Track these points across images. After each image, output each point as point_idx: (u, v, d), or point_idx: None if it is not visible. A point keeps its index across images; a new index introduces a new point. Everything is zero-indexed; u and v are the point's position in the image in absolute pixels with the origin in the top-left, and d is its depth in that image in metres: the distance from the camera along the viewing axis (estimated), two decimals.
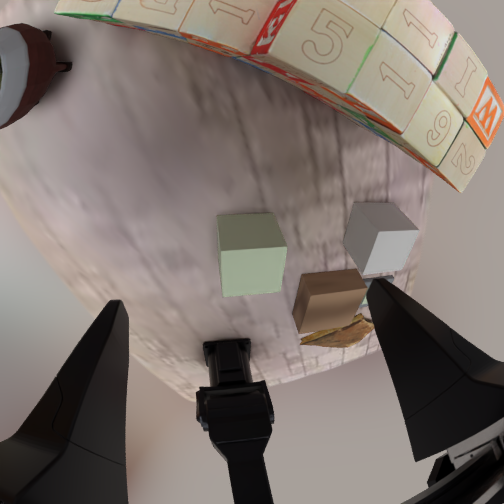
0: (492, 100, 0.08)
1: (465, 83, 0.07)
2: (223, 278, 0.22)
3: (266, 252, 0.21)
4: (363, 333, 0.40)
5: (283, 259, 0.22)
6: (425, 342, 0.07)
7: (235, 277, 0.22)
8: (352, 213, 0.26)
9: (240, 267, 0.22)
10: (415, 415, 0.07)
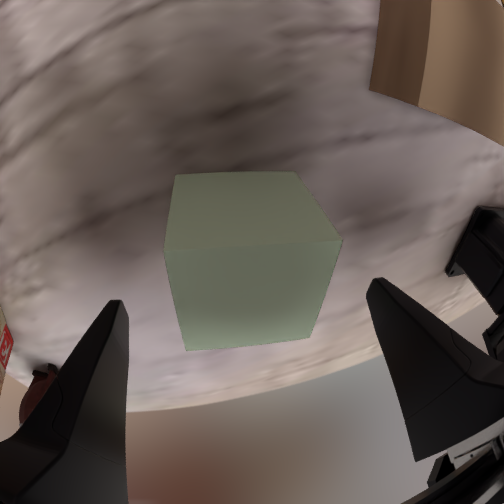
0: None
1: None
2: (256, 343, 0.11)
3: (186, 292, 0.08)
4: None
5: (210, 252, 0.07)
6: (425, 342, 0.07)
7: (259, 329, 0.10)
8: None
9: (231, 325, 0.10)
10: (415, 415, 0.07)
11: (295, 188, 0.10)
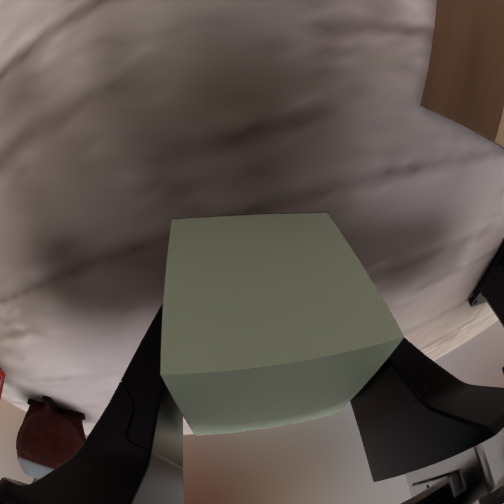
0: None
1: None
2: (278, 425, 0.08)
3: (196, 403, 0.06)
4: None
5: (229, 373, 0.05)
6: None
7: (284, 417, 0.07)
8: None
9: (251, 419, 0.07)
10: (370, 434, 0.07)
11: (334, 245, 0.08)
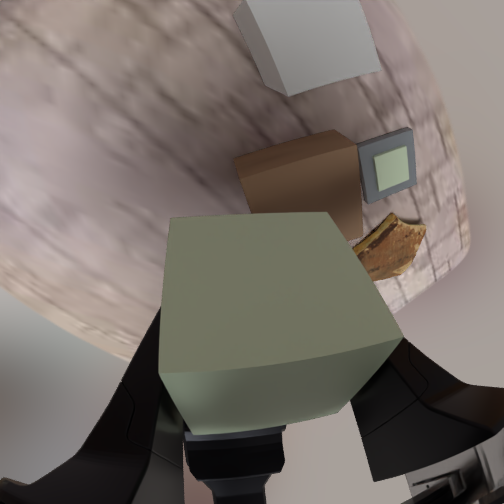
0: None
1: None
2: (277, 425, 0.08)
3: (194, 402, 0.05)
4: (411, 245, 0.23)
5: (228, 372, 0.05)
6: None
7: (283, 417, 0.07)
8: (240, 30, 0.12)
9: (249, 419, 0.07)
10: (370, 434, 0.07)
11: (333, 244, 0.08)
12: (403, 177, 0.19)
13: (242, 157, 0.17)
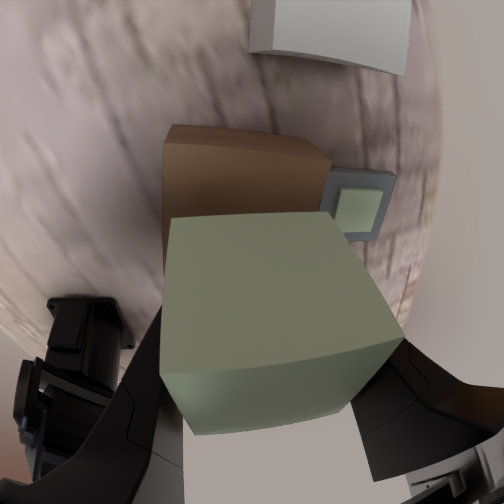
0: None
1: None
2: (278, 425, 0.08)
3: (195, 403, 0.05)
4: None
5: (229, 373, 0.05)
6: None
7: (284, 417, 0.07)
8: None
9: (251, 419, 0.07)
10: (370, 434, 0.07)
11: (334, 244, 0.08)
12: (365, 226, 0.17)
13: (183, 126, 0.12)
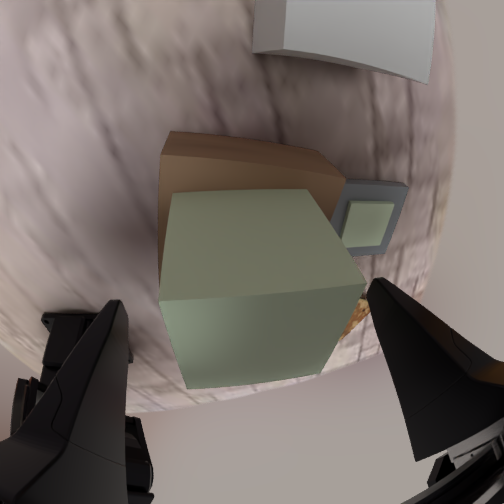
0: None
1: None
2: (264, 381, 0.09)
3: (187, 340, 0.07)
4: (350, 321, 0.21)
5: (215, 302, 0.06)
6: (425, 342, 0.07)
7: (268, 369, 0.09)
8: None
9: (237, 368, 0.08)
10: (415, 415, 0.07)
11: (310, 213, 0.09)
12: (374, 240, 0.16)
13: (182, 133, 0.11)
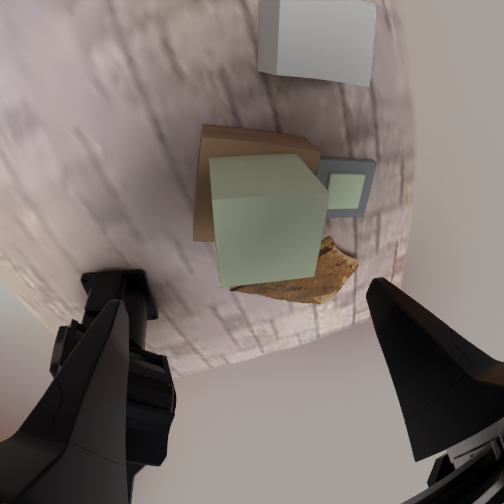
0: None
1: None
2: (274, 279, 0.14)
3: (225, 232, 0.12)
4: (340, 276, 0.26)
5: (243, 200, 0.11)
6: (425, 342, 0.07)
7: (276, 265, 0.14)
8: (260, 15, 0.12)
9: (255, 262, 0.13)
10: (415, 415, 0.07)
11: (297, 164, 0.14)
12: (352, 204, 0.21)
13: (211, 126, 0.16)
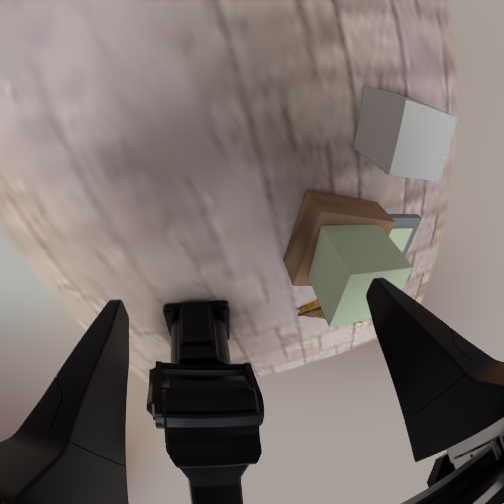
0: None
1: None
2: (363, 319, 0.19)
3: (349, 293, 0.16)
4: None
5: (367, 274, 0.16)
6: (425, 342, 0.07)
7: (368, 311, 0.18)
8: (363, 100, 0.16)
9: (358, 309, 0.18)
10: (415, 415, 0.07)
11: (384, 237, 0.18)
12: (400, 249, 0.26)
13: (314, 192, 0.21)
